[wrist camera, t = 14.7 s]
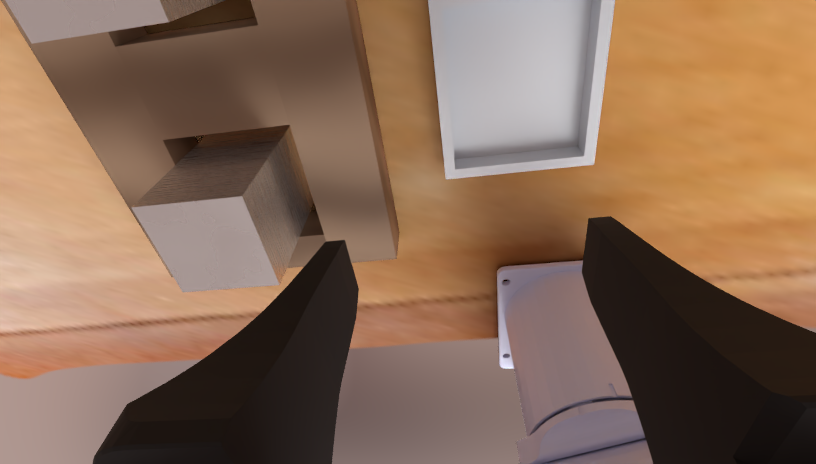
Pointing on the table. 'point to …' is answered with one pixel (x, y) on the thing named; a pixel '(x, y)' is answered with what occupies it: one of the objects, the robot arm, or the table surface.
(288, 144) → the seated billet
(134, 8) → the billet
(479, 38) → the shallow grey tray
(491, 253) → the table surface
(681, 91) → the table surface
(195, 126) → the board
